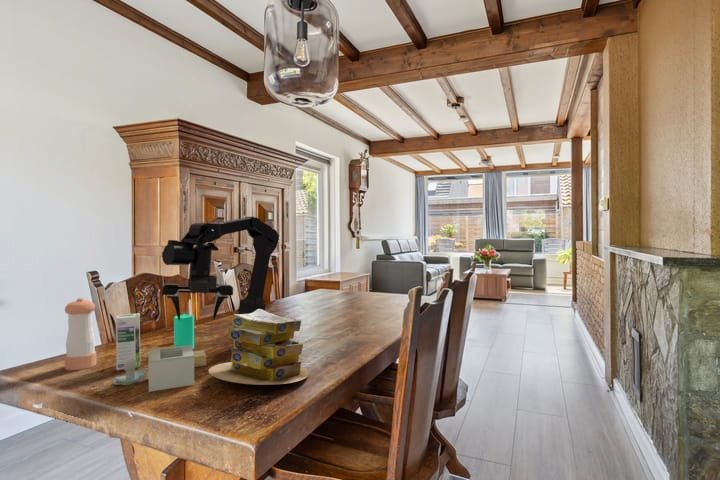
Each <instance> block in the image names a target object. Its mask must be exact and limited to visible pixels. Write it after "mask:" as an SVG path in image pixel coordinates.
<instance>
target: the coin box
mask: <svg viewBox="0 0 720 480" xmlns="http://www.w3.org/2000/svg"><path fill="white" fill-rule="evenodd" d="M193 351H194V348H193V349H192V346H191V345H188V346H179V347H174V346H173V347H163V348H162V347H161V348H155V349H149V351H148V361H147V362H148V364H147V365H148V393H151V392H156V391H163V390H168V389H175V388H182V387H188V386H194V385H195V367H194V353H193Z"/></svg>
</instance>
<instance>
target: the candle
mask: <svg viewBox="0 0 720 480" xmlns="http://www.w3.org/2000/svg"><path fill="white" fill-rule="evenodd" d="M188 345H191V346H192V349H193V350H194V348H195V316H194V315H193V314H186V313H183V314H180V320H178V316H177V315H176V316H173V347H179V346H188Z"/></svg>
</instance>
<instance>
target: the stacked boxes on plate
mask: <svg viewBox="0 0 720 480" xmlns="http://www.w3.org/2000/svg"><path fill="white" fill-rule="evenodd" d="M231 318H232V319H231V327H229V328H228V334H227V340H229V341H233V348H232V347H230V348H229V349H230V350H231V357H230V361H229V362H224V363H218V364H216V365H213V366H210V368H209V369H208V373H209V374H210V375H211V376H212V377H213V378H217V379H219V380H223V381H226V382H231V383H237V384H244V385H257V386H258V385H259V386H261V385H265V386H266V385H267V386H269V385H284V384H285V385H286V384H292V383H296V382H300V381H302V380H304V379H306V378H308V376H309V372H308V371H307V370H306V369H305V368H302V367H301V366H302V361H299V360H300V355H302V353H303V347H304V343H302V342H298V341H294V340H292V339H294V335H295V332H300V329H301V325H302V320H300V319H296V318H293V317H290V318H289V317H284V316H279V315H276V314H275V313H271V312H268V311H267V310H265V311H264V310H262V309H257V310H256V311H254V312H253V313H247V314H239V313H238V314H236V313H233V315H232V317H231Z"/></svg>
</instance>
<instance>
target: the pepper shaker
mask: <svg viewBox="0 0 720 480" xmlns="http://www.w3.org/2000/svg"><path fill="white" fill-rule="evenodd" d="M95 309H96V305H95V303H94V302H92V301H90V300H85V299H84V298H82V297H80V298H79V297H78V298H77V299H76V301H75V300H74V301H71V302H69V303H67V305H65V307H64V312H65V313H66V315H67V314H68V320H67V323H68V324H67V325H68V326H67V327H68V330H67V336H66V340H65V341H66V342H65V346H66V347H65V350H66V354H65V355H64V369H65V371H80V370H84V369H85V370H86V369H89V368H93V367H94V366H96V365H97V351H96V350H95V346H96V345H95V344H96V343H95V341H96V339H95V334H94V330H93V312H95Z"/></svg>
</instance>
